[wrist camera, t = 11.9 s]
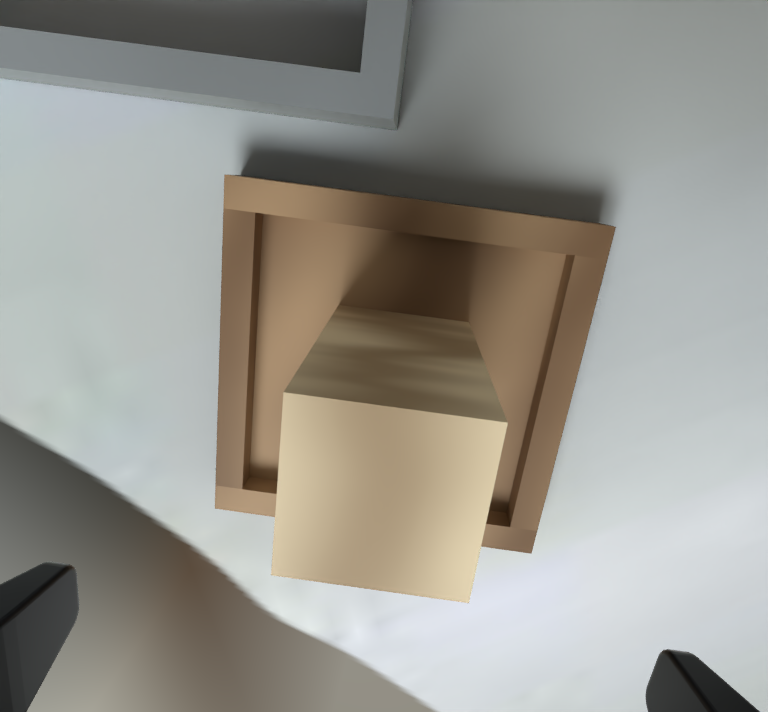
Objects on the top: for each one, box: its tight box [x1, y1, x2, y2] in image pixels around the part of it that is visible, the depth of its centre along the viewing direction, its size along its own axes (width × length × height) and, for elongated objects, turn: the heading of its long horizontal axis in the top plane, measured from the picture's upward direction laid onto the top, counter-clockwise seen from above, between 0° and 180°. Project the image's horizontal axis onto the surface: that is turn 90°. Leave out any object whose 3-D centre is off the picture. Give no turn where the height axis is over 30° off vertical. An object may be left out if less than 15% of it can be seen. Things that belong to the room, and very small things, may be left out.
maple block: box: [271, 305, 508, 603], centre depth 15 cm, size 4×4×8 cm
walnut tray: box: [215, 175, 616, 553], centre depth 19 cm, size 12×12×2 cm
